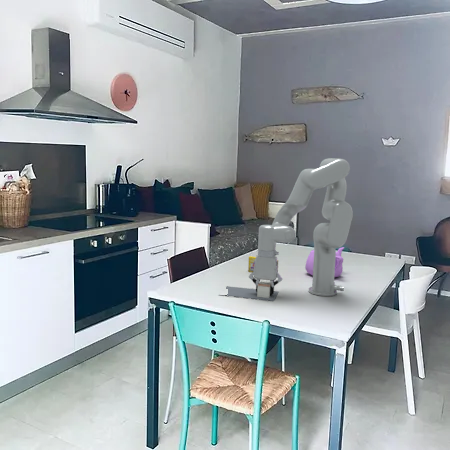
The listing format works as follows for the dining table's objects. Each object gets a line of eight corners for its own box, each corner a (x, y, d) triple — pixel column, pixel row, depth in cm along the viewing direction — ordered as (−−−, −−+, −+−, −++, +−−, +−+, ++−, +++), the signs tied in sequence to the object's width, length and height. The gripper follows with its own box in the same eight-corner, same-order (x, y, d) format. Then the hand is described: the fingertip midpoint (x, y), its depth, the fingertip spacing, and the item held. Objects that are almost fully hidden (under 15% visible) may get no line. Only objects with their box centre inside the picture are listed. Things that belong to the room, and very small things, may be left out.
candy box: (247, 272, 244) (248, 256, 243) (249, 271, 246) (250, 255, 245) (276, 276, 236) (277, 260, 235) (278, 275, 238) (278, 259, 237)
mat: (278, 292, 207) (278, 291, 207) (273, 301, 194) (273, 300, 194) (226, 287, 213) (226, 286, 213) (218, 295, 200) (218, 294, 200)
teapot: (329, 283, 226) (331, 253, 224) (300, 273, 243) (301, 245, 241) (360, 277, 238) (363, 249, 236) (330, 269, 256) (332, 242, 253)
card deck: (272, 292, 205) (272, 281, 205) (268, 298, 197) (269, 286, 196) (260, 291, 207) (261, 280, 206) (257, 296, 198) (257, 285, 197)
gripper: (287, 253, 201) (285, 294, 203) (249, 250, 205) (247, 290, 207) (285, 256, 193) (282, 298, 196) (245, 253, 198) (243, 294, 200)
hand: (264, 294), depth 202 cm, fingers closed on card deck, 5 cm apart
